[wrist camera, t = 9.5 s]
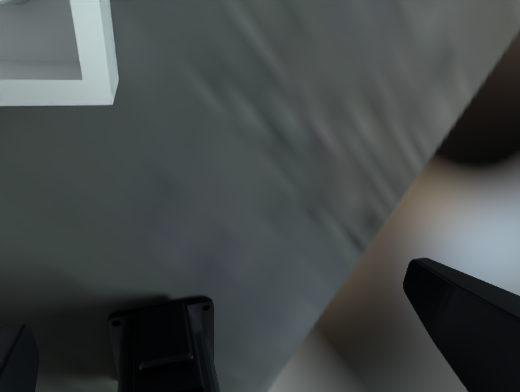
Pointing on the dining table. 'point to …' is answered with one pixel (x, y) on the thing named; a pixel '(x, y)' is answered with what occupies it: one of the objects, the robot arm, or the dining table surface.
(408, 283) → the robot arm
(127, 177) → the dining table surface
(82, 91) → the white open box
